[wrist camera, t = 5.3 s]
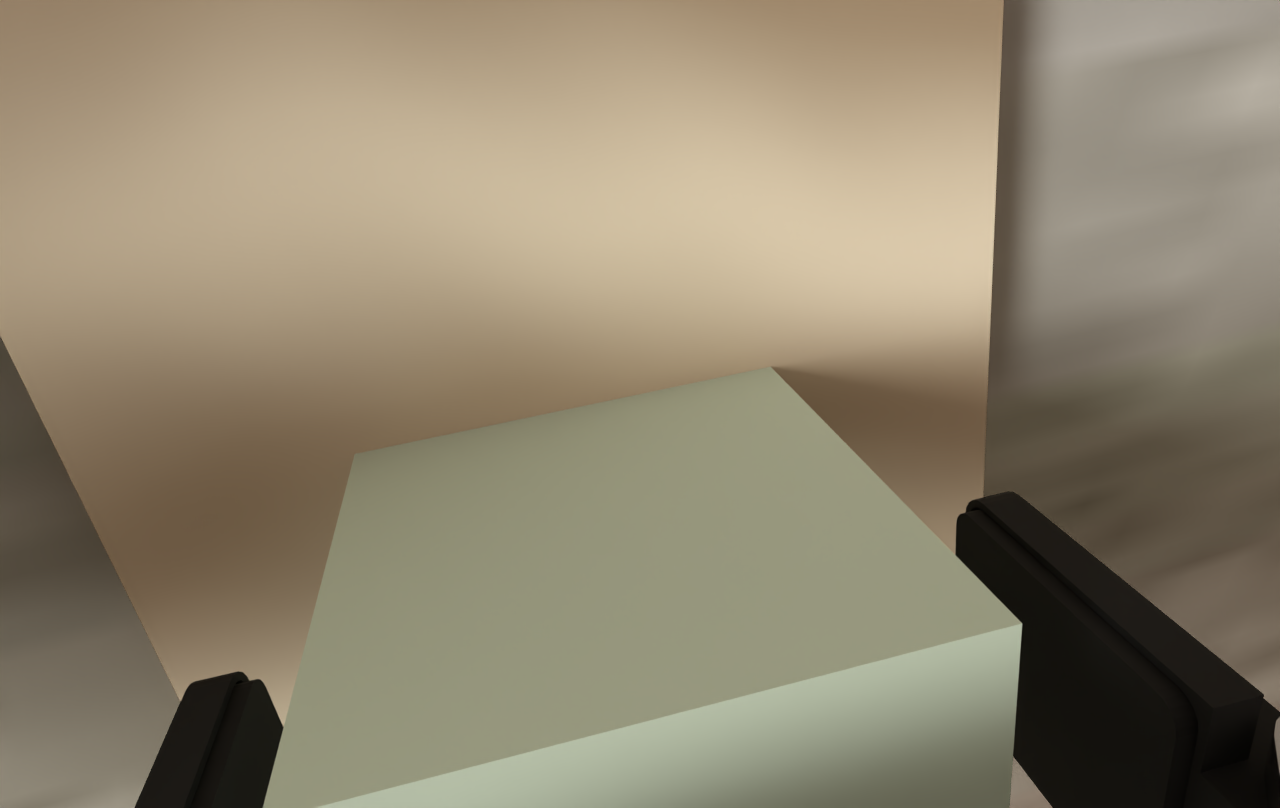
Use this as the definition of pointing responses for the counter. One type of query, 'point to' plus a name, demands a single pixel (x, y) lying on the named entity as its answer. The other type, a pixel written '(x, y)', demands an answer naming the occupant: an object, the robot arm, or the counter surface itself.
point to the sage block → (646, 623)
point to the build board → (470, 252)
